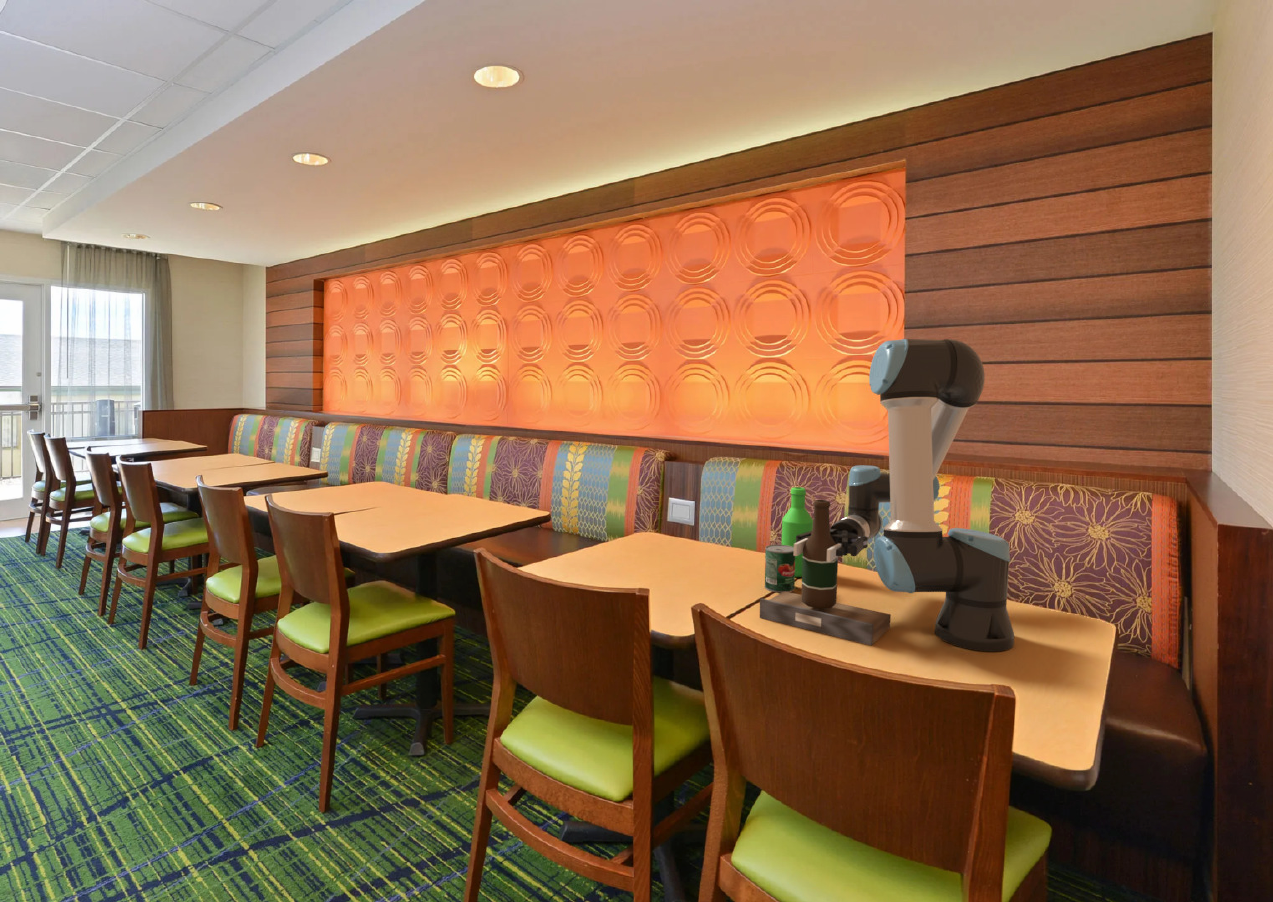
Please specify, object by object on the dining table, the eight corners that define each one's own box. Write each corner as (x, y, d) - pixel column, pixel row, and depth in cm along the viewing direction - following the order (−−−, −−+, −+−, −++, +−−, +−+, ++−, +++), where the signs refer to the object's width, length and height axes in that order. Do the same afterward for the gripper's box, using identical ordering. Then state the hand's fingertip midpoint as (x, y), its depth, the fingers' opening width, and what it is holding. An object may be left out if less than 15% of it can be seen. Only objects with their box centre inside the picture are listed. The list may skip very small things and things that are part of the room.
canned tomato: (768, 581, 178) (769, 543, 177) (797, 585, 175) (798, 546, 173) (761, 590, 171) (761, 550, 170) (791, 594, 167) (791, 553, 166)
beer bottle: (838, 610, 143) (841, 504, 141) (802, 608, 145) (805, 503, 142) (834, 598, 151) (838, 498, 148) (800, 596, 153) (803, 496, 150)
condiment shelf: (890, 627, 145) (890, 607, 145) (870, 645, 135) (871, 625, 135) (783, 602, 161) (784, 585, 161) (759, 617, 151) (759, 599, 151)
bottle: (776, 569, 190) (778, 485, 187) (805, 568, 190) (807, 485, 188) (786, 578, 181) (788, 490, 178) (816, 577, 182) (819, 490, 179)
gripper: (889, 554, 155) (855, 577, 137) (810, 541, 167) (770, 561, 149) (890, 523, 154) (856, 543, 136) (811, 513, 166) (770, 529, 148)
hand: (811, 552), depth 143 cm, fingers closed on beer bottle, 7 cm apart
